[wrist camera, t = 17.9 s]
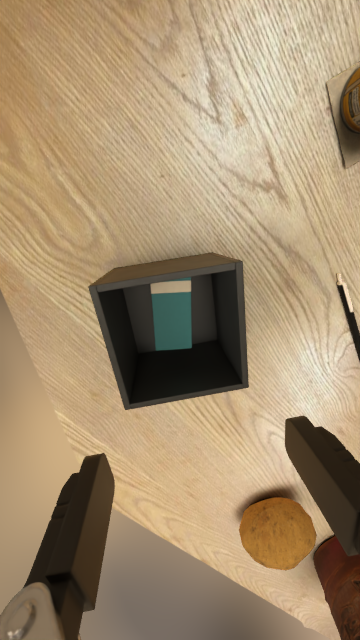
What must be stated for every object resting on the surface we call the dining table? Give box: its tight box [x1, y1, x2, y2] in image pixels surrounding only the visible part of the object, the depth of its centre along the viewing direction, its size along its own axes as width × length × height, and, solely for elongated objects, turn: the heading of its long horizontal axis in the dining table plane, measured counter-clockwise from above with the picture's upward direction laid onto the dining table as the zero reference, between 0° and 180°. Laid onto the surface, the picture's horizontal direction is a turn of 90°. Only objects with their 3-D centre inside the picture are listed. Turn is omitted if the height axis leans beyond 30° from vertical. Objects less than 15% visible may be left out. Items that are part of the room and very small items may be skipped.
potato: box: [239, 497, 316, 570], centre depth 41 cm, size 10×13×9 cm
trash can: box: [88, 253, 249, 410], centre depth 25 cm, size 12×12×11 cm
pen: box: [337, 273, 360, 360], centre depth 33 cm, size 1×19×1 cm, turn 29°
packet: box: [150, 277, 192, 351], centre depth 26 cm, size 4×6×8 cm
